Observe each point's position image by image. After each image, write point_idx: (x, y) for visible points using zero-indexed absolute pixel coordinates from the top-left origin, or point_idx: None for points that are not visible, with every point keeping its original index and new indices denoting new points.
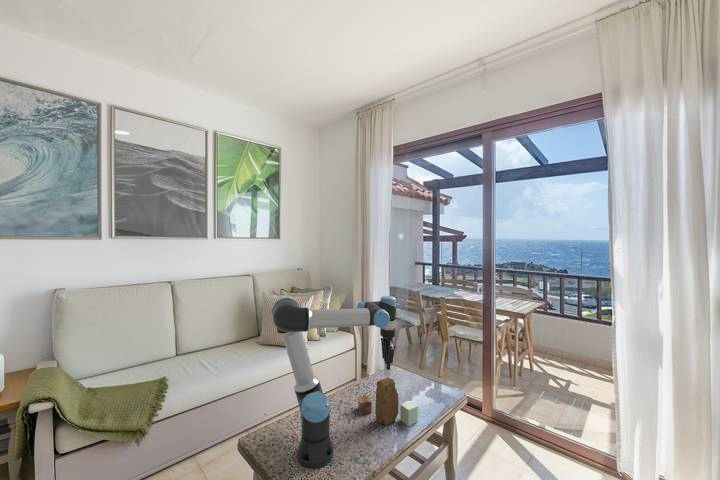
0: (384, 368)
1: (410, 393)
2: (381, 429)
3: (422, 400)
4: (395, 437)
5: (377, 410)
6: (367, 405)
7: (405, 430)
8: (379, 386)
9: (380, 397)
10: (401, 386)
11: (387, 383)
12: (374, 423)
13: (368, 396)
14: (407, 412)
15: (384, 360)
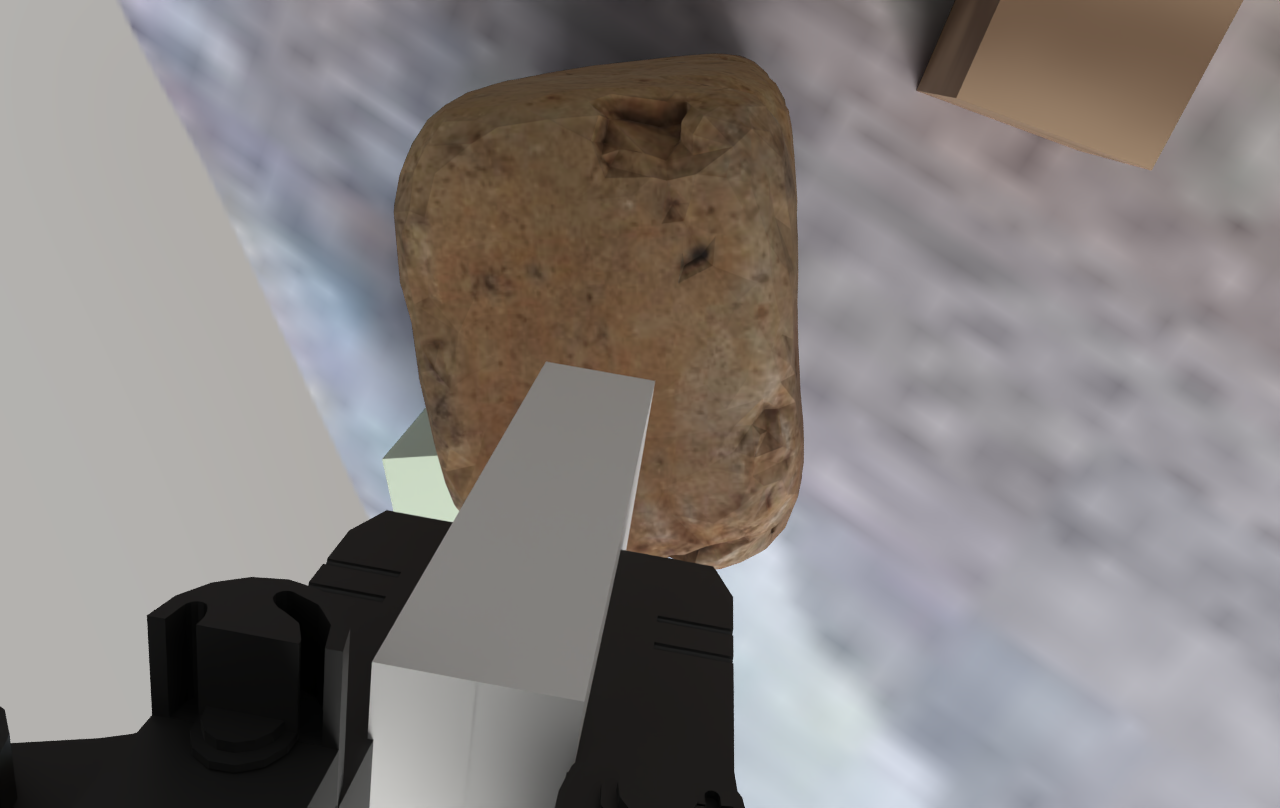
0: (586, 484)
1: (1005, 788)
2: (528, 29)
3: (801, 803)
4: (325, 114)
5: (675, 57)
6: (976, 24)
7: (397, 301)
8: (574, 87)
9: (553, 74)
10: (1214, 799)
11: (462, 313)
12: (684, 5)
13: (1143, 138)
14: (420, 437)
15: (583, 786)
